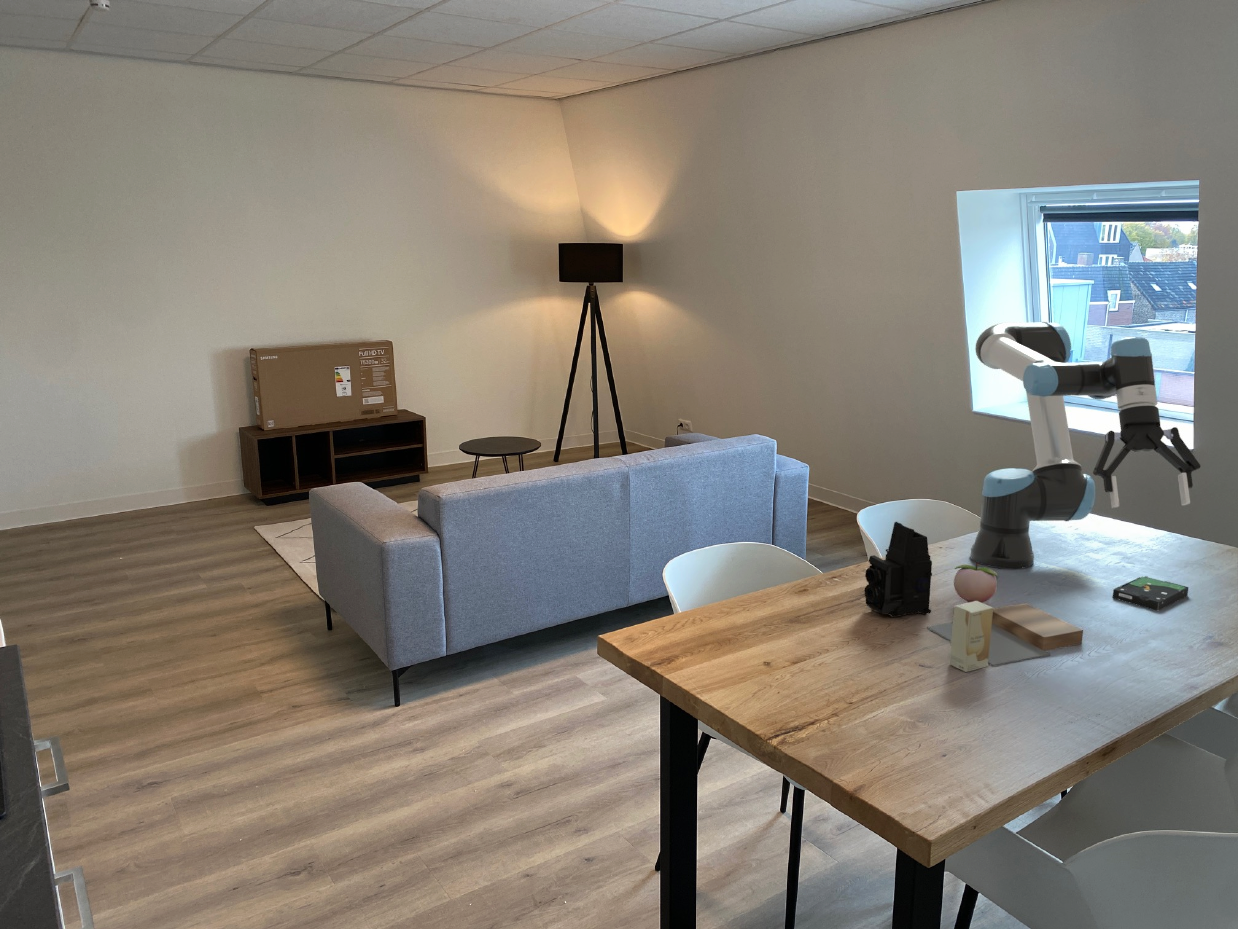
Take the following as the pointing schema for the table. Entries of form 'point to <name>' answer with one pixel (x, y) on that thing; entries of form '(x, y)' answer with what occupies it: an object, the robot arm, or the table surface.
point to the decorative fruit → (975, 583)
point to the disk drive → (1150, 592)
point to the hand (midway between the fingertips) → (1150, 506)
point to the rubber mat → (999, 645)
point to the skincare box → (971, 636)
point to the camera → (900, 575)
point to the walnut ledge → (1036, 626)
